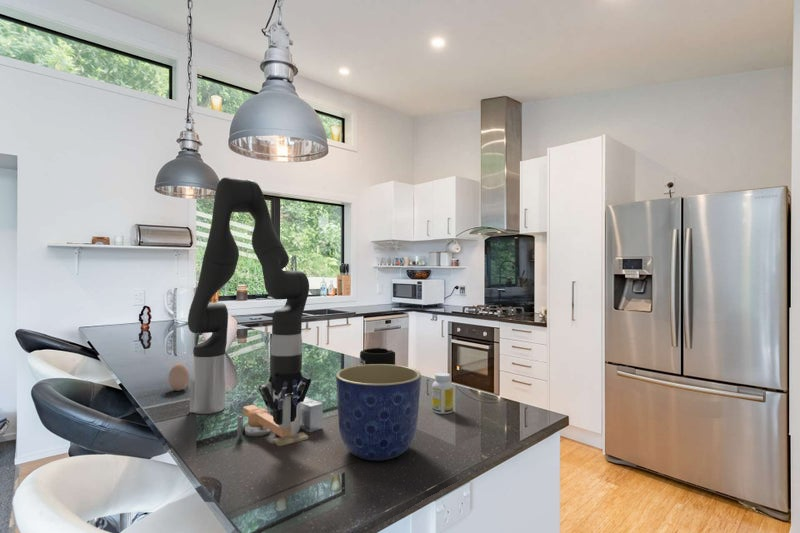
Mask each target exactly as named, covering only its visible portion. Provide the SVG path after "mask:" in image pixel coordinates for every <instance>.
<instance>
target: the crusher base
mask: <svg viewBox="0 0 800 533" xmlns="http://www.w3.org/2000/svg"><path fill="white" fill-rule="evenodd" d="M323 407H324V406H323V403H322V402H321V401H318V400H315V399H312V398H310V397H307V396H305V399H304V401H303V402H300V429H302V430H305V431H306V432H309V433H313V432H316V431H320V430H322V429H323V416H324V415H323V412H324V411H323V409H324V408H323ZM243 419H244V415H243V416H242V415H239V416H237V442H242V441H243V438H244V437H243V434H244V433H243V432H244V431H245V435H246V436H248V437H261V436H266V435H268V434H269V433H270V432H271V430H269V429H268V428H266V427H264V426H263V425H260V426H251V425H249V424H248V422H246V423H245V426H243V425H244V420H243ZM244 427H245V428H244ZM243 429H244V430H243Z"/></svg>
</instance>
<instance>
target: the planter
mask: <svg viewBox="0 0 800 533" xmlns="http://www.w3.org/2000/svg"><path fill="white" fill-rule="evenodd" d="M421 380H422V374H421V372H420V371H419V370H417V369H416V368H413V367H410V366H405V365H398V364H395V365H390V364H368V365H359V364H358V365H353V366H348V367H345V368H342V369H340V370H338V371H337V372H336V374H335V381H336V382H335V384H336V399H337V400H336V402H337V417H338V430H339V434H340V438H341V441H342V442H343V445H344V446H345V448H346V449H347V450H348V451H349V452H350V453H351V454H352V455H354V456H356V457H358V458H360V459H363V460H367V461H387V460H391V459H394V458H395V459H396V458H398V457H399V456H401V455H403V454H404V453H405V452H406V451H407V450H408V449H409V448H410V447H411V445H412V443H413V442H414V439H415V437H416V433H417V430H418V419H419V407H420V406H419V405H420V392H421Z"/></svg>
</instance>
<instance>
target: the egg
mask: <svg viewBox="0 0 800 533" xmlns="http://www.w3.org/2000/svg"><path fill="white" fill-rule="evenodd" d="M167 379H168V380H167V381H168V385H169V387H170V388H171V389H172V390H174V391H176V392H178V391H182V390H184V389H185V388H186V387H187V386H188V384H189V383H190V372H189V369H188V368H187V366H186V365H185V364H183V363H180V362H179V363H178V362H177V363H176V364H175V365H173V366H172V367H171V369H170V371H169V373H168V378H167Z"/></svg>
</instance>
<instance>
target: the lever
mask: <svg viewBox="0 0 800 533" xmlns="http://www.w3.org/2000/svg"><path fill="white" fill-rule="evenodd" d="M242 415H243V416H245V417H247V423H248V424H249V425H251V426H260V425H263V426H264V427H266V428H268V429H269V430H270V432H273V433H274V434H276V435H277V436H279V437H285V436H289V435H291V395H288V394H285V399H284V400H283V405H282V425H277V424H276V423H275V422H274V421H273V415H272V414H269V411H268V409H266V408H260V407H259V406H256V405H254V404H250V405H245V406H243V407H242Z"/></svg>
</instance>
